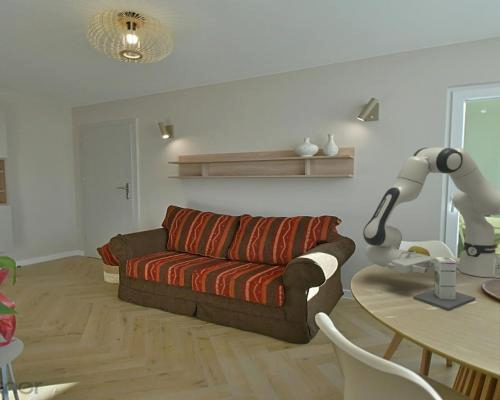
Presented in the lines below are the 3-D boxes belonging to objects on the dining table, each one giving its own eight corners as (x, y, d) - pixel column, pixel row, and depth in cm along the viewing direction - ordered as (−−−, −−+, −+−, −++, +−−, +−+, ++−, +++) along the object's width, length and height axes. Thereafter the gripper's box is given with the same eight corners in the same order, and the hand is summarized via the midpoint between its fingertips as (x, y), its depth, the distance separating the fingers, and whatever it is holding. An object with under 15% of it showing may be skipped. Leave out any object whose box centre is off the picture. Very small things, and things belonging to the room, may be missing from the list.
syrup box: (455, 300, 121) (457, 261, 120) (438, 299, 122) (439, 260, 121) (449, 294, 127) (451, 257, 126) (432, 293, 128) (434, 256, 127)
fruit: (429, 269, 162) (430, 249, 161) (405, 266, 168) (405, 247, 167) (430, 264, 171) (431, 245, 170) (407, 261, 177) (408, 243, 176)
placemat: (440, 289, 135) (440, 287, 135) (475, 300, 124) (475, 297, 124) (413, 298, 126) (413, 296, 126) (448, 310, 115) (448, 308, 115)
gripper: (384, 256, 134) (416, 264, 122) (415, 250, 145) (447, 257, 133) (383, 271, 135) (416, 281, 123) (414, 264, 145) (446, 272, 133)
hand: (432, 268), depth 128 cm, fingers open, 8 cm apart
